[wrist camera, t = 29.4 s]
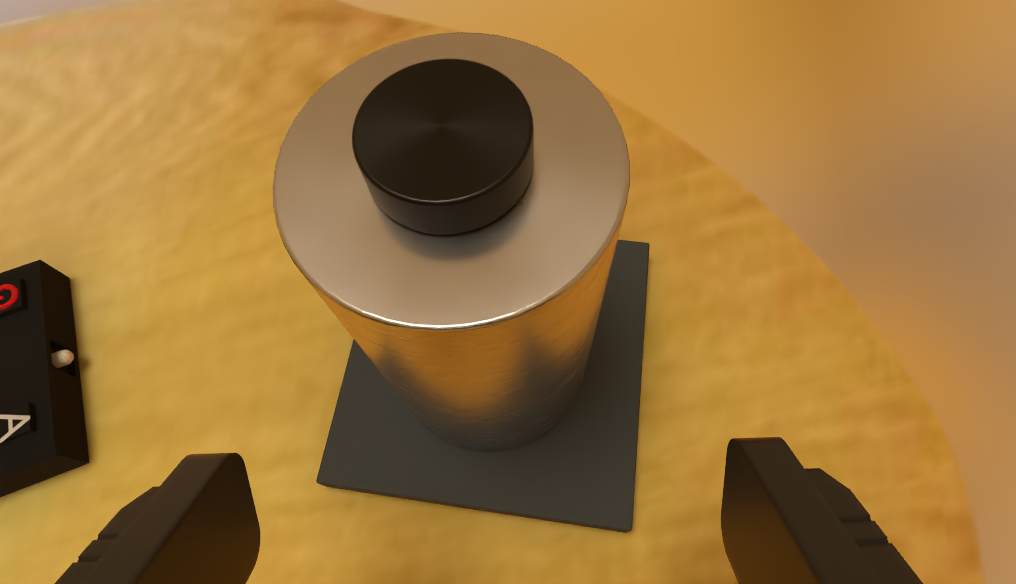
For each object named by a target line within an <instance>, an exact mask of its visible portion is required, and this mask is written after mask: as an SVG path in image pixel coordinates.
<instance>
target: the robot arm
mask: <svg viewBox="0 0 1016 584" xmlns="http://www.w3.org/2000/svg"><path fill="white" fill-rule="evenodd" d="M721 529H722V537H723V542H724V547H725V551H726V554H727V557H728V559H729V562H730V564H731V566H732V569H733V571H734V573H735V576H736V578H737V581H738V583H739V584H923V583H922V582H921V580H920V579H919V578H918V576H917V575H916V574H915V573H914V571H913V570H912V569H911V567H910V566H909V565H908V564H907V562H906V561H905V560H904V558H903V557H902V556H901V555H900V553H899V552H898V551H897V549H896V548H895V547H894V546H893V544H892V543H888V541H887V537H886V535H885V534H884V533H883V531H882V530H881V529H880V528H879V526H878V525H877V524H876V522H875V521H871V519H870V515H869V513H868V512H867V511H866V510H865V508H864V507H863V506H862V504H861V503H860V502H859V501H858V499H857V498H856V497H855V495H854V494H853V493H852V492H851V490H850V489H848V488H847V487H845V486H844V485H843V484H841V483H840V482H838V481H837V480H835V479H834V478H833V477H831V476H830V475H828V474H827V473H825V472H824V471H823V470H821V469H820V468H814V469H804V468H803V466H802V465H801V463H800V462H799V461H798V459H797V458H796V456H795V455H794V454H793V452H792V451H791V449H790V448H789V446H788V445H787V444H786V442H785V441H784V440H783V439H782V438H780V437H766V438H734V439H731V440H730V441H729V444H728V447H727V455H726V466H725V477H724V488H723V499H722V510H721ZM259 547H260V527H259V522H258V518H257V514H256V510H255V505H254V501H253V497H252V493H251V488H250V484H249V480H248V476H247V471H246V467H245V464H244V461H243V459H242V457H241V456H240V455H239V454H237V453H216V454H191V455H188V456H186V457H185V458H184V459H183V460H182V461H181V462H180V463H179V464H178V466H177V467H176V468H175V469H174V470H173V472H172V473H171V474H170V475H169V476H168V477H167V479H166V480H165V481H164V482H163V483H162V485H161V486H160V487H152V488H151V489H149V490H148V491H146V492H145V493H144V494H142V495H141V496H139V497H138V498H136V499H135V500H133V501H132V502H131V503H129V504H128V505H126V506H125V507H123V508H122V509H121V510H120V511H119V512H118V513H117V514H116V515H115V516H114V518H113V519H112V520H111V521H110V522H109V523H108V524H107V525H106V527H105V528H104V529H103V530H102V531H101V532H100V533H99V534H98V539H97V540H93V541H92V542H91V543H90V545H89V546H88V547H87V548H86V549H85V550H84V551H83V552H82V554H81V555H80V556H79V560H78V562H77V563H73V564H72V565H71V566H70V567H69V568H68V569H67V570H66V571H65V573H64V574H63V575H62V576H61V577H60V578H59V579H58V580H57V582H56V583H55V584H246V582H247V580H248V578H249V576H250V574H251V572H252V570H253V568H254V566H255V564H256V561H257V557H258V553H259Z"/></svg>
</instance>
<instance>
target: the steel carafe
mask: <svg viewBox="0 0 1016 584" xmlns="http://www.w3.org/2000/svg"><path fill="white" fill-rule="evenodd" d="M629 186H630V161H629V155H628V149H627V144H626V141H625V137H624V134H623V131H622V128H621V126H620V124H619V122H618V120H617V118H616V116H615V114H614V112H613V110H612V108H611V106H610V105H609V103H608V102H607V101H606V99H605V98H604V96H603V95H602V93H601V92H600V91H599V90H598V89H597V88H596V87H595V86H594V85H593V83H592V82H591V81H590V80H589V79H588V78H587V77H586V76H584V75H583V74H582V73H581V72H579V71H578V70H577V69H576V68H574V67H573V66H572V65H570V64H569V63H567V62H565V61H564V60H562V59H561V58H559V57H558V56H556V55H554V54H552V53H550V52H548V51H546V50H544V49H541V48H539V47H537V46H534V45H531V44H528V43H525V42H523V41H520V40H515V39H511V38H507V37H502V36H497V35H489V34H481V33H446V34H435V35H430V36H424V37H418V38H414V39H410V40H406V41H403V42H399V43H396V44H393V45H390V46H388V47H385V48H382V49H380V50H377V51H375V52H373V53H371V54H369V55H367V56H365V57H363V58H361V59H359V60H357V61H356V62H354V63H353V64H351V65H349V66H348V67H346V68H345V69H343V70H342V71H340V72H339V73H338V74H336V75H335V76H334V77H333V78H331V79H330V80H329V81H328V82H326V83H325V84H324V85H323V86H322V87H321V88H320V89H319V90H318V91H317V92H316V93H315V94H314V95H313V96H312V97H311V98H310V99H309V101H308V102H307V103H306V104H305V106H304V107H303V108H302V109H301V111H300V112H299V113H298V115H297V117H296V118H295V120H294V122H293V123H292V125H291V126H290V128H289V130H288V132H287V134H286V137H285V139H284V141H283V143H282V146H281V148H280V152H279V155H278V159H277V162H276V166H275V173H274V181H273V207H274V212H275V218H276V223H277V227H278V230H279V233H280V236H281V238H282V241H283V244H284V246H285V248H286V250H287V251H288V253H289V255H290V257H291V259H292V260H293V262H294V264H295V265H296V266H297V268H298V269H299V270H300V271H301V273H302V274H303V275H304V276H305V278H306V279H307V280H308V281H309V283H310V284H311V285H312V286H313V288H314V289H315V290H316V292H317V293H318V294H319V295H320V297H321V298H322V299H323V300H324V302H325V303H326V304H327V305H328V307H329V308H330V309H331V310H332V312H333V313H334V314H335V315H336V317H337V318H338V319H339V320H340V322H341V323H342V324H343V326H344V327H345V328H346V329H347V331H348V332H349V333H350V334H351V336H352V337H353V338H354V339H355V341H356V342H357V343H358V344H359V346H360V347H361V348H362V349H363V351H364V352H365V353H366V355H367V356H368V357H369V358H370V360H371V361H372V362H373V363H374V365H375V366H376V367H377V368H378V370H379V371H380V372H381V373H382V375H383V376H384V377H385V378H386V380H387V381H388V382H389V384H390V385H391V386H392V387H393V389H394V390H395V391H396V392H397V394H398V395H399V396H400V397H401V399H402V400H403V401H404V402H405V404H406V405H407V406H408V407H409V409H410V410H411V411H412V412H413V414H414V415H415V416H416V418H417V419H418V420H419V421H420V422H421V423H422V424H423V425H424V426H425V427H426V428H427V429H428V430H429V431H430V432H432V433H433V434H435V435H436V436H437V437H439V438H441V439H442V440H444V441H446V442H448V443H450V444H453V445H456V446H458V447H461V448H465V449H470V450H474V451H486V452H491V451H503V450H509V449H514V448H517V447H520V446H523V445H526V444H528V443H530V442H532V441H534V440H536V439H538V438H540V437H541V436H543V435H544V434H546V433H547V432H549V431H550V430H551V429H552V428H553V427H554V426H556V425H557V424H558V423H559V422H560V421H561V420H562V418H563V417H564V416H565V415H566V414H567V412H568V411H569V409H570V408H571V406H572V405H573V403H574V401H575V399H576V397H577V395H578V393H579V391H580V387H581V384H582V381H583V377H584V373H585V369H586V365H587V361H588V357H589V353H590V349H591V345H592V341H593V337H594V333H595V329H596V325H597V321H598V317H599V313H600V309H601V305H602V301H603V297H604V293H605V289H606V285H607V281H608V277H609V273H610V269H611V264H612V260H613V256H614V252H615V248H616V244H617V240H618V236H619V232H620V228H621V224H622V220H623V216H624V212H625V208H626V204H627V198H628V192H629Z"/></svg>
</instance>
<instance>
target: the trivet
mask: <svg viewBox="0 0 1016 584" xmlns="http://www.w3.org/2000/svg"><path fill="white" fill-rule="evenodd" d="M648 260H649V243H643V242H633V241H624V240H617V244H616V248H615V252H614V256H613V260H612V264H611V269H610V273H609V277H608V281H607V285H606V289H605V293H604V297H603V301H602V305H601V309H600V313H599V317H598V321H597V325H596V329H595V333H594V337H593V341H592V345H591V349H590V353H589V357H588V361H587V365H586V369H585V373H584V377H583V381H582V384H581V387H580V391H579V393H578V395H577V397H576V399H575V401H574V403H573V405H572V406H571V408H570V409H569V411H568V412H567V414H566V415H565V416H564V417H563V418H562V420H561V421H560V422H559V423H558V424H557V425H556V426H554V427H553V428H552V429H551V430H550V431H549V432H547V433H546V434H544V435H543V436H541V437H540V438H538V439H536V440H534V441H532V442H530V443H528V444H526V445H523V446H520V447H517V448H514V449H509V450H503V451H491V452H486V451H474V450H470V449H465V448H461V447H458V446H456V445H453V444H450V443H448V442H446V441H444V440H442V439H441V438H439V437H437V436H436V435H435V434H433V433H432V432H430V431H429V430H428V429H427V428H426V427H425V426H424V425H423V424H422V423H421V422H420V421H419V420H418V419H417V418H416V416H415V415H414V414H413V412H412V411H411V410H410V409H409V407H408V406H407V405H406V404H405V402H404V401H403V400H402V399H401V397H400V396H399V395H398V394H397V392H396V391H395V390H394V389H393V387H392V386H391V385H390V384H389V382H388V381H387V380H386V378H385V377H384V376H383V375H382V373H381V372H380V371H379V370H378V368H377V367H376V366H375V365H374V363H373V362H372V361H371V360H370V358H369V357H368V356H367V355H366V353H365V352H364V351H363V349H362V348H361V347H360V346H359V344H358V343H357V342H356V341H355V339H354V340H353V344H352V348H351V352H350V355H349V359H348V363H347V367H346V371H345V374H344V378H343V382H342V386H341V389H340V393H339V397H338V401H337V405H336V408H335V412H334V416H333V420H332V423H331V427H330V431H329V435H328V439H327V442H326V446H325V450H324V454H323V458H322V461H321V465H320V469H319V473H318V476H317V480H316V481H317V483H319V484H321V485H324V486H326V487H333V488H339V489H346V490H352V491H359V492H365V493H372V494H378V495H385V496H391V497H398V498H404V499H411V500H417V501H424V502H430V503H437V504H443V505H450V506H456V507H463V508H469V509H476V510H482V511H489V512H495V513H502V514H508V515H515V516H521V517H528V518H535V519H541V520H548V521H554V522H561V523H567V524H574V525H580V526H587V527H593V528H600V529H606V530H613V531H619V532H629V531H631V530H632V522H633V505H634V489H635V473H636V456H637V440H638V423H639V407H640V391H641V374H642V358H643V341H644V325H645V309H646V292H647V276H648Z"/></svg>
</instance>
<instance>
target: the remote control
mask: <svg viewBox="0 0 1016 584" xmlns="http://www.w3.org/2000/svg"><path fill="white" fill-rule="evenodd" d="M87 463H89V459H88V450H87V441H86V431H85V422H84V413H83V403H82V394H81V384H80V375H79V366H78V356H77V347H76V338H75V328H74V319H73V310H72V300H71V291H70V281H69V277H67V276H65V275H64V274H62V273H61V272H59V271H57V270H56V269H54V268H53V267H51V266H49V265H48V264H46V263H45V262H43V261H41V260H38V261H35V262H32V263H29V264H26V265H23V266H20V267H17V268H14V269H12V270H9V271H6V272H3V273H0V497H1V496H4V495H7V494H9V493H12V492H14V491H17V490H20V489H22V488H25V487H27V486H30V485H33V484H35V483H38V482H40V481H43V480H46V479H48V478H51V477H53V476H56V475H58V474H61V473H64V472H66V471H69V470H71V469H74V468H77V467H79V466H82V465H84V464H87Z"/></svg>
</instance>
